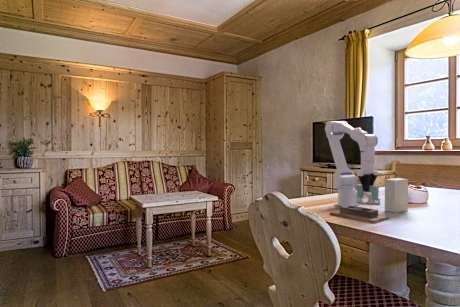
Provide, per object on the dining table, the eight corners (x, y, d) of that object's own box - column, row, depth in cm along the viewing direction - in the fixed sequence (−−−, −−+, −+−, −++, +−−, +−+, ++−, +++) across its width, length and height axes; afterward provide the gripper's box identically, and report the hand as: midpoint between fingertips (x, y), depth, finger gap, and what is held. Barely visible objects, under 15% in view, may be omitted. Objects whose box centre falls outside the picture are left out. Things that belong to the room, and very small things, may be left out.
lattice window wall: (380, 204, 159) (380, 192, 158) (379, 204, 157) (379, 193, 157) (356, 201, 166) (356, 190, 166) (355, 202, 165) (355, 191, 165)
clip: (359, 197, 145) (359, 184, 145) (378, 199, 138) (378, 186, 138) (356, 197, 144) (356, 184, 143) (375, 200, 136) (375, 186, 136)
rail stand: (345, 210, 144) (345, 203, 144) (388, 218, 128) (388, 210, 128) (329, 214, 137) (329, 206, 137) (373, 223, 121) (373, 214, 121)
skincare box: (397, 208, 147) (397, 177, 146) (408, 211, 141) (408, 178, 141) (383, 210, 144) (383, 178, 143) (394, 213, 138) (394, 179, 138)
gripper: (367, 162, 133) (367, 193, 133) (384, 160, 141) (384, 190, 142) (352, 161, 138) (352, 191, 139) (369, 160, 147) (369, 188, 147)
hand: (367, 190), depth 141 cm, fingers closed on clip, 2 cm apart
